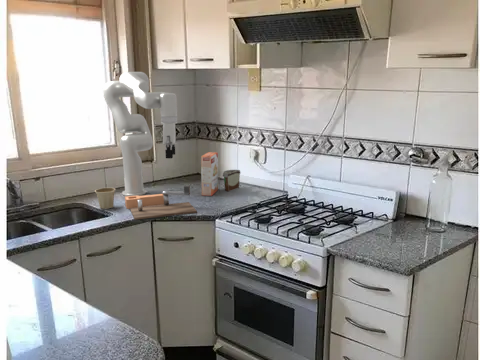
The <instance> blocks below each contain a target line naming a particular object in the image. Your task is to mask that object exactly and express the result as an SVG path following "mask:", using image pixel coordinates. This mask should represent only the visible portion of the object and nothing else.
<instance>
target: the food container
mask: <svg viewBox="0 0 480 360" xmlns="http://www.w3.org/2000/svg"><path fill="white" fill-rule="evenodd" d="M241 173H242V172H241V170H240V169H228V170H224V171H223V173H222V177H223V182H224V183H223V184H224V191H226V192H231V191H232V192H233V191H234V190H237V189H240V181H241V180H240V178H241V177H240V175H241Z"/></svg>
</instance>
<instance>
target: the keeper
mask: <svg viewBox="0 0 480 360" xmlns="http://www.w3.org/2000/svg"><path fill="white" fill-rule="evenodd" d="M162 194H163V195H169V196H190V195H191V185H188V184H187V185H184V186H183V190H182V191H178V190H177V191H175V190H173V191H172V190H171V191H170V190H163V191H162Z"/></svg>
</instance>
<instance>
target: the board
mask: <svg viewBox="0 0 480 360" xmlns="http://www.w3.org/2000/svg"><path fill="white" fill-rule="evenodd" d="M129 210H130V213H131V215H132V218H133V219H134V220H136V221H137V220H145V219H153V218H161V217H173V216H179V215H180V216H181V215H189V214H197V213H198V211H197V210H198V209H196V208H195V207H194V206H193V205H192V204H191V203H190V202H189V201H185V202H176V203H169V205H167V206H165V205H164V204H163V205H154V206H144V207H143V211H138V207H135V208H130V209H129Z"/></svg>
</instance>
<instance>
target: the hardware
mask: <svg viewBox="0 0 480 360" xmlns="http://www.w3.org/2000/svg"><path fill="white" fill-rule="evenodd" d="M169 197H170V195H164V204H163V205H165V206H167V205H169V204H170V198H169ZM138 211H143V207H142V200H141V199H139V200H138Z"/></svg>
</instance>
